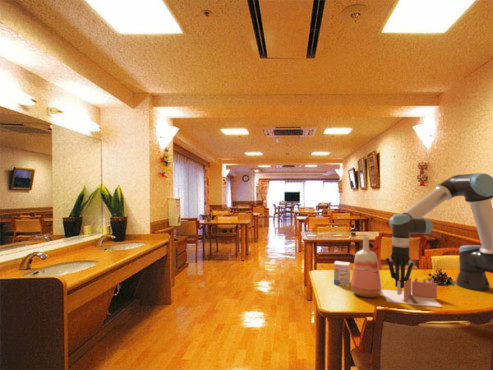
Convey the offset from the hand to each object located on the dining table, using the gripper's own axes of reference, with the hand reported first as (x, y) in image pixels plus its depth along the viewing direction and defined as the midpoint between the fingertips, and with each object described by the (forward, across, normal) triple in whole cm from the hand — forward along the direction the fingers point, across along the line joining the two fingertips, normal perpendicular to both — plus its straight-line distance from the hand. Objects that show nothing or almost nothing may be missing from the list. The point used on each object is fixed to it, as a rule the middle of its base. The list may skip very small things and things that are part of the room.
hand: (399, 294), depth 141 cm
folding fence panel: (+2, +3, +2) cm, 4 cm away
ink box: (+4, -32, +3) cm, 32 cm away
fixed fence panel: (+2, +6, +12) cm, 14 cm away
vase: (+3, -14, -6) cm, 15 cm away
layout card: (+3, +2, +5) cm, 6 cm away
